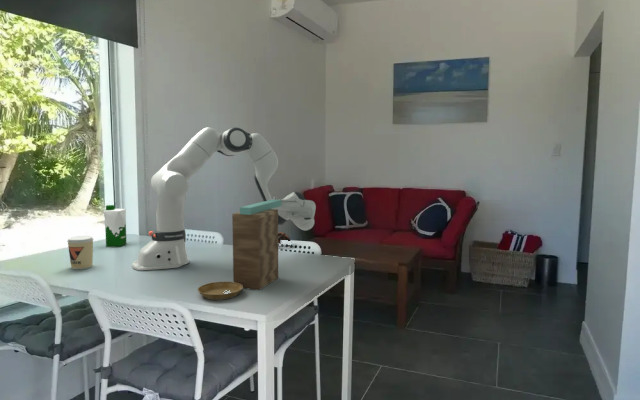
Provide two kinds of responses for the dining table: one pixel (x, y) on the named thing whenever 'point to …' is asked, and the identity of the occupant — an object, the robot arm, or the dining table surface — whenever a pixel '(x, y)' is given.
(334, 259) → the dining table surface
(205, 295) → the plant saucer
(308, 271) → the dining table surface
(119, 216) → the milk carton
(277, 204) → the board
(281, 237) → the pottery mug
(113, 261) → the dining table surface
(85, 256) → the coffee cup
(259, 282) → the shelf block
